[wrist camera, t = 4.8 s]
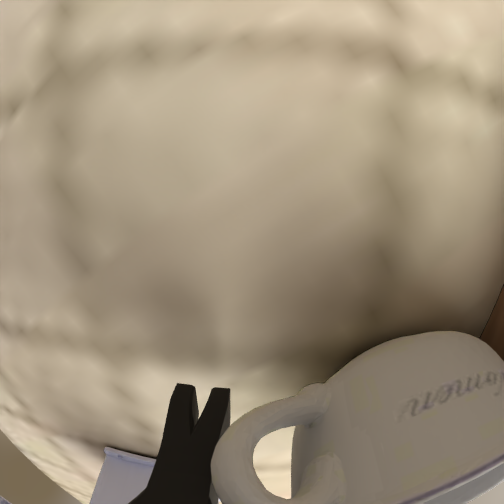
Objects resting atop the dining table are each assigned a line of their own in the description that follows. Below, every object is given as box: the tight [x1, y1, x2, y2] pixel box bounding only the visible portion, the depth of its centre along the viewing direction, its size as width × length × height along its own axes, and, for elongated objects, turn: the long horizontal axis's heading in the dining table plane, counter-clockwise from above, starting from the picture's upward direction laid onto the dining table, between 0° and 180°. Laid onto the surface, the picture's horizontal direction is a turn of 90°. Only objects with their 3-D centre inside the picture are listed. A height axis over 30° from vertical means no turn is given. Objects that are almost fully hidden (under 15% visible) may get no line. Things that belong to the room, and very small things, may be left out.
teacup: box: [211, 331, 504, 504], centre depth 9 cm, size 14×11×8 cm
